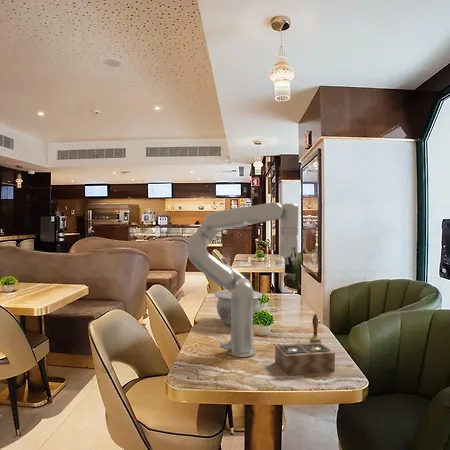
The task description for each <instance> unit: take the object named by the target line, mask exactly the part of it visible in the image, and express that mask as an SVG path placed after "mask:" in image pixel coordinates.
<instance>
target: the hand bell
mask: <svg viewBox="0 0 450 450" xmlns="http://www.w3.org/2000/svg"><path fill="white" fill-rule="evenodd" d="M311 322H312V327H313V335H312V336H311V337H310V339H309V343H322V342H321V341H322V340H321V337H319V336H318V327H319V326H318V325H319V318H318V314H317V313H316V314H313V316H312V321H311Z"/></svg>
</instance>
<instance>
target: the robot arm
mask: <svg viewBox="0 0 450 450" xmlns="http://www.w3.org/2000/svg"><path fill="white" fill-rule="evenodd" d="M276 220H280V243H279V244H280V245H279V256H280V257H281V258H282V257H283V259H284V274H287V275H288V274H290V275H291V274H293V273H294V262H295V260H296V258H297V257H298V254H299V253H298V250H299V249H298V248H299V247H298V236H299V206H298V204H297V203H283V204H280V203H279V202H274V201H273V202H269V203H268V202H266V203H261V204H256V205H250V206H239V207H234V208H228V209H227V208H226V209H224V210H223V209H222V210H216V211H211V212H209V213H208V214H206V216H205V218H204V221H203V222H202V223H201V224H200V226H199V227H198V228H197V229H196V231H195V232H194V233H192V234H191V235H190V236H189V238H188V240H187V244H186V253H187V256H188V260H189V261H190V262H191V264H192V266H194V267H195V268H196V269H197V270H198V271H200V272H201V273H203V275H205V276H206V277H207V278H208V279H209V280H211V281H212V282H213V283H214V284H216V285H217V286H218V287H220V288H221V287H222V288H225V290H229V291H230V292H231V326H230V340H229V341H228V342H226V343H220V344H219V348H220V349H224V350H227V351H226V352H227V354H229V355H230V356H232V357H235V358H249V357H252V356H255V355H256V353H257V349H256V348H255V347H254V346H253V334H254V333H253V332H254V331H253V327H254V326H253V324H254V322H253V297H254V293H253V291H254V287H253V286H252V283H251V281H249V279H248V278H246V277H245V275H242V274H241V273H240V272H239V271H237V270H236V269H235V268H234V267H232V266H230V265H229V264H228V263H222V262H221V261H220V260H218V259H217V258H216V257H215V256H213V255H212V254H211V253H210V252H208V249H207V248H208V246H209V245H210V244H211V242H212V241H213V240H214V239H215V237H216V236H217V234H218V233H219V232H220V231H223V230H224V231H225V230H229V229H234V228H241V227H247V226H249V225H253V224H258V223H260V224H261V223H266V222H270V221H276Z"/></svg>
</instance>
